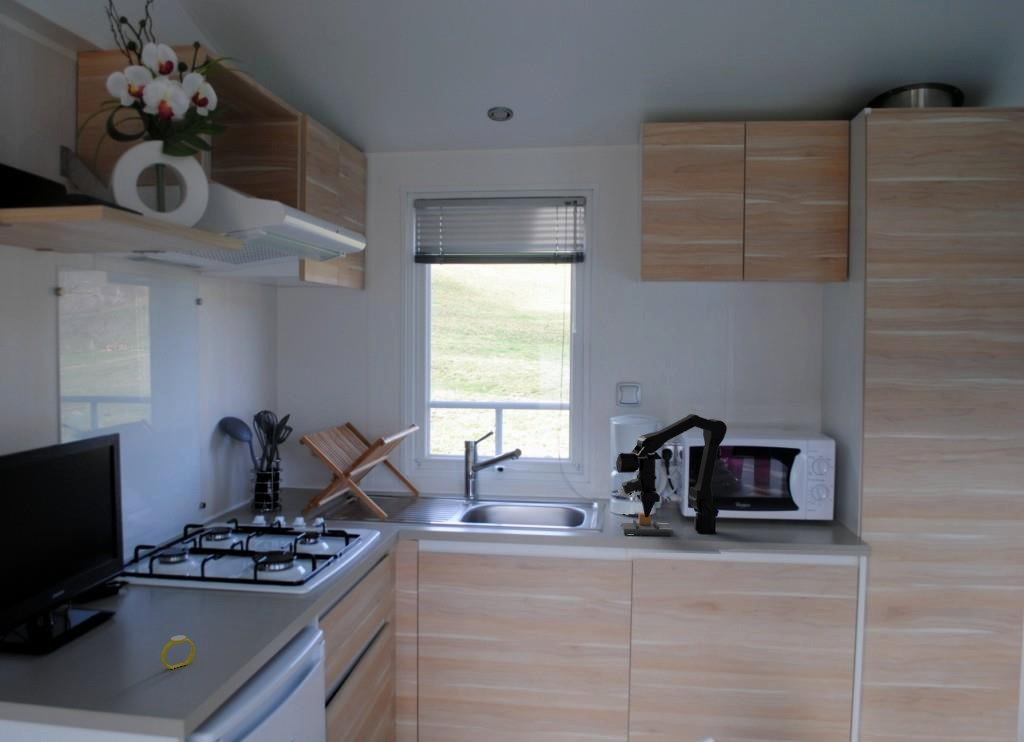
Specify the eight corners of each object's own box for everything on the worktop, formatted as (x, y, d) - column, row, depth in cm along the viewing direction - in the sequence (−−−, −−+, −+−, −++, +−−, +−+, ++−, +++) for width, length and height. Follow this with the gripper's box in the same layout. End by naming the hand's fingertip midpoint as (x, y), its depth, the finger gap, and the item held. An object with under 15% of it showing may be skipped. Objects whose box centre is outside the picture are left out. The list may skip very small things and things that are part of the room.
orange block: (649, 522, 246) (650, 512, 246) (650, 524, 243) (651, 514, 243) (638, 522, 246) (638, 512, 246) (639, 524, 244) (639, 514, 243)
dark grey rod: (669, 535, 238) (669, 531, 238) (670, 536, 236) (670, 532, 236) (623, 534, 238) (623, 531, 238) (624, 535, 237) (624, 532, 237)
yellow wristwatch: (190, 661, 141) (192, 632, 141) (195, 666, 139) (197, 636, 139) (159, 668, 137) (161, 638, 137) (163, 673, 135) (165, 642, 135)
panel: (668, 529, 246) (668, 520, 246) (672, 535, 238) (672, 526, 238) (621, 528, 247) (621, 520, 246) (623, 534, 239) (624, 525, 238)
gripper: (620, 467, 248) (620, 510, 249) (626, 476, 230) (626, 523, 230) (651, 467, 248) (651, 511, 248) (660, 477, 229) (659, 524, 230)
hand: (646, 517), depth 239 cm, fingers closed
